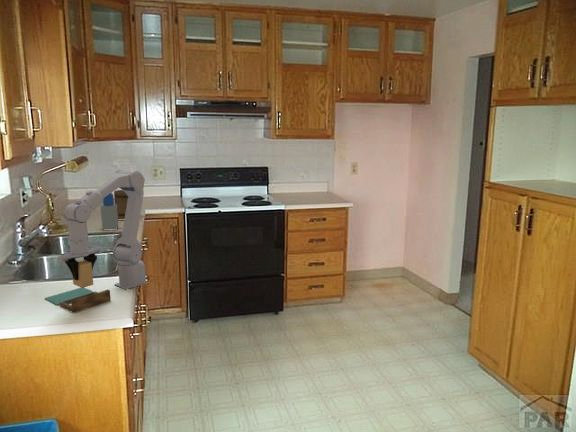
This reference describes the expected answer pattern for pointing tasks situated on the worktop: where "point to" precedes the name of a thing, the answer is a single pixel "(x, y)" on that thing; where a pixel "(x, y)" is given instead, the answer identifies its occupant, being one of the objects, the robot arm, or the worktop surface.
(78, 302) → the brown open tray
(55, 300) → the mat
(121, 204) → the wooden container
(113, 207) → the spray bottle
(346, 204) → the worktop surface
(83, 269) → the block
